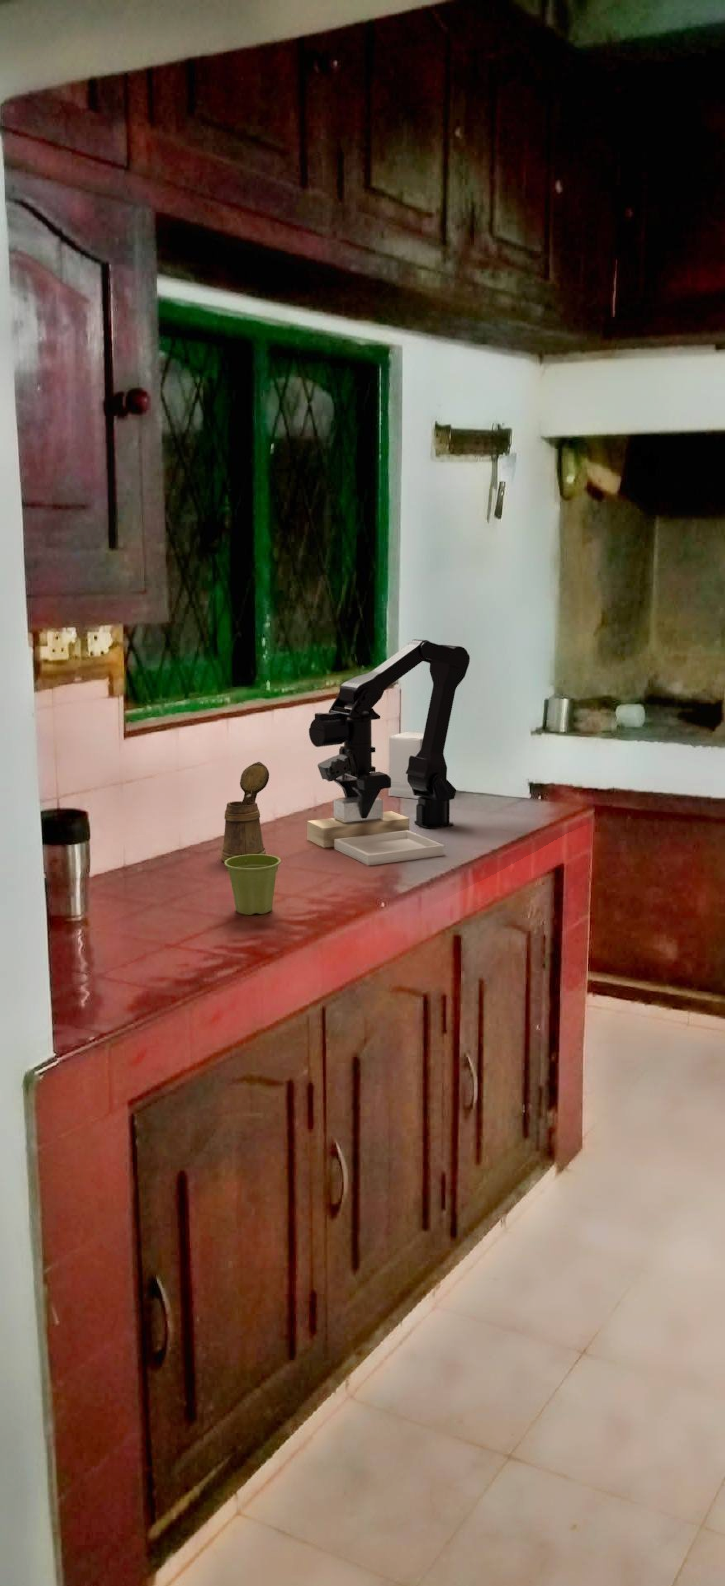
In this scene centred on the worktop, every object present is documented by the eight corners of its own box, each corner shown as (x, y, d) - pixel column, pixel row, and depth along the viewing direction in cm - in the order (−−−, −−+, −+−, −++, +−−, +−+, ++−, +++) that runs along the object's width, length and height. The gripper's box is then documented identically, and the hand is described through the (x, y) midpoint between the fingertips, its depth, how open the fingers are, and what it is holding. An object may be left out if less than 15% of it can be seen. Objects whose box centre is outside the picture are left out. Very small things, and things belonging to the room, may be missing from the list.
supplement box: (420, 800, 299) (420, 738, 296) (387, 796, 304) (387, 735, 301) (437, 793, 307) (437, 733, 304) (405, 790, 312) (405, 730, 309)
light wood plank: (391, 829, 270) (391, 809, 269) (409, 836, 263) (409, 816, 262) (307, 839, 261) (306, 819, 260) (323, 847, 254) (323, 827, 253)
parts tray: (407, 839, 260) (407, 830, 260) (444, 855, 247) (444, 845, 247) (334, 848, 253) (334, 839, 252) (368, 865, 239) (368, 855, 239)
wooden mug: (282, 849, 252) (280, 762, 249) (255, 866, 240) (253, 774, 236) (241, 846, 255) (239, 760, 252) (213, 862, 243) (210, 771, 239)
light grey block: (371, 813, 265) (371, 795, 264) (382, 818, 261) (382, 799, 260) (333, 818, 261) (333, 799, 260) (344, 822, 257) (344, 803, 256)
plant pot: (259, 921, 205) (258, 870, 203) (214, 913, 210) (213, 863, 208) (292, 907, 213) (291, 858, 211) (248, 899, 217) (247, 851, 216)
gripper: (303, 739, 262) (304, 811, 265) (342, 752, 246) (343, 828, 249) (351, 735, 267) (351, 806, 270) (392, 747, 251) (392, 822, 254)
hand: (358, 815), depth 261 cm, fingers closed on light grey block, 5 cm apart
